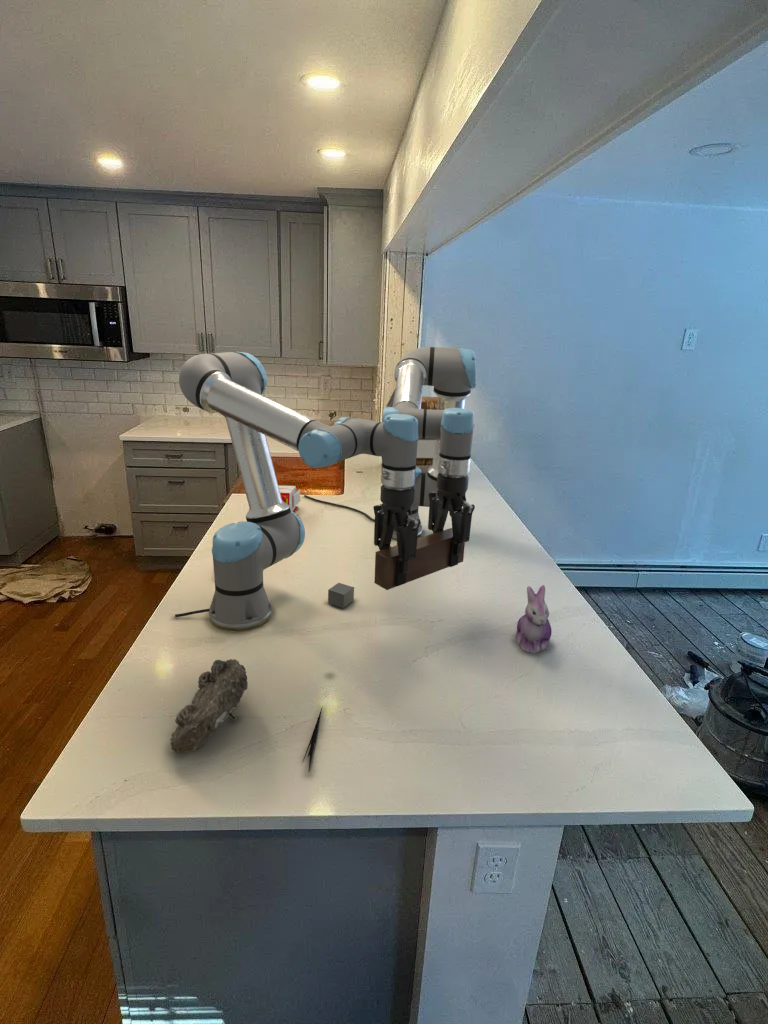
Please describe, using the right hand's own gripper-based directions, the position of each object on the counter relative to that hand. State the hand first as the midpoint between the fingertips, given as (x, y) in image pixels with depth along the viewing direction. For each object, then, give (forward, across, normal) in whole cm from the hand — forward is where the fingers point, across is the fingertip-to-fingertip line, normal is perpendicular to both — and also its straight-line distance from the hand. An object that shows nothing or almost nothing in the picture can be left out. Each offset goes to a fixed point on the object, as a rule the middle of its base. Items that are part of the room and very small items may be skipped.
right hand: (445, 561), depth 145 cm
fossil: (+14, +2, -64) cm, 66 cm away
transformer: (+15, -100, +88) cm, 134 cm away
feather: (+14, +15, -49) cm, 53 cm away
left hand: (0, 0, -18) cm, 18 cm away
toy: (+15, -84, +2) cm, 85 cm away
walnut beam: (0, 0, -9) cm, 9 cm away
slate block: (+15, -20, -18) cm, 31 cm away
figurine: (+15, +24, +7) cm, 29 cm away
